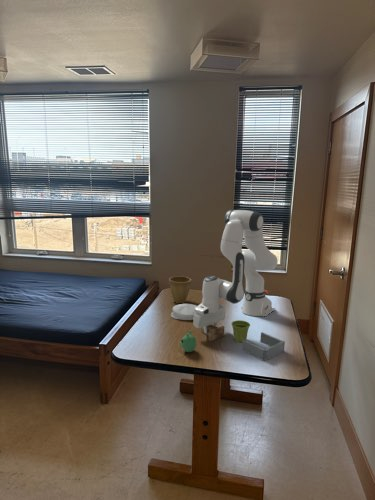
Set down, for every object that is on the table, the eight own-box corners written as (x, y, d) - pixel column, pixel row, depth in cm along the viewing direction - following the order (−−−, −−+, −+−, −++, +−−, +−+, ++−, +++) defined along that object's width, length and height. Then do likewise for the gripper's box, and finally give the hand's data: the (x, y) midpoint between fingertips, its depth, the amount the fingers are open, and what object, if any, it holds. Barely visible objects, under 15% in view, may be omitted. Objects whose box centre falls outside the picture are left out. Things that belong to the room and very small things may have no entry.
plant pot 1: (182, 307, 221) (183, 283, 218) (164, 302, 229) (164, 279, 226) (195, 300, 233) (195, 278, 230) (177, 296, 241) (177, 275, 238)
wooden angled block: (210, 329, 188) (210, 320, 187) (224, 335, 180) (224, 326, 179) (196, 333, 182) (197, 325, 181) (210, 340, 174) (210, 331, 173)
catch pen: (261, 341, 174) (262, 332, 173) (284, 351, 164) (284, 341, 163) (242, 349, 165) (242, 340, 164) (264, 361, 155) (265, 350, 154)
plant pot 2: (245, 345, 169) (245, 329, 168) (227, 340, 174) (228, 324, 173) (252, 338, 177) (252, 323, 176) (235, 334, 182) (236, 319, 180)
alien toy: (182, 346, 167) (183, 327, 165) (197, 349, 165) (198, 329, 163) (178, 353, 161) (178, 333, 159) (193, 356, 158) (194, 335, 157)
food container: (181, 307, 222) (181, 297, 221) (208, 313, 212) (209, 302, 210) (164, 317, 205) (164, 307, 204) (192, 324, 195) (192, 313, 194)
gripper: (220, 301, 188) (219, 324, 190) (191, 309, 175) (191, 334, 177) (228, 304, 183) (227, 328, 186) (199, 312, 170) (199, 338, 173)
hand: (209, 331), depth 181 cm, fingers closed on wooden angled block, 3 cm apart
